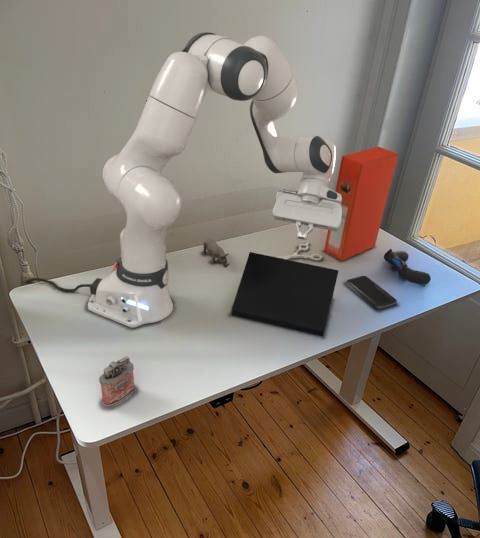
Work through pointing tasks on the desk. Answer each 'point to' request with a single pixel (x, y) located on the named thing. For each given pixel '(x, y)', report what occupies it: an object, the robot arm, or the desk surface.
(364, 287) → the phone
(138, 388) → the desk surface
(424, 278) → the gaming controller
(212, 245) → the rhino figurine
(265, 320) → the laptop
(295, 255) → the scissors
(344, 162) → the file binder
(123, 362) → the lighter
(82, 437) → the desk surface
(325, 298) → the laptop screen
